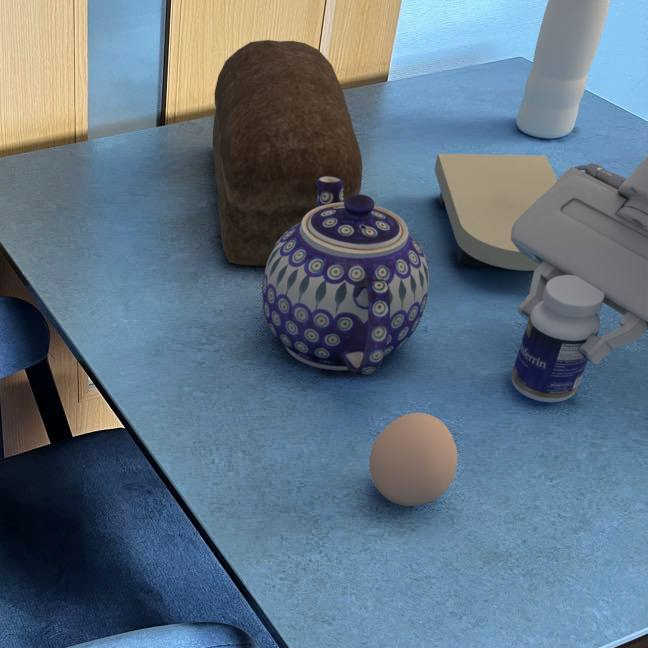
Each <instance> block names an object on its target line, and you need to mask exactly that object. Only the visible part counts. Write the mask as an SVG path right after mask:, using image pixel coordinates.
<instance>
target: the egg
mask: <svg viewBox="0 0 648 648" xmlns="http://www.w3.org/2000/svg"><path fill="white" fill-rule="evenodd" d="M371 447H372V448H371V451H370V454H369V474H370V477H371V480H372V482H373V485H374V486H375V488H376V489H377V490H378V492H379V493H380V494H381V495H382V496H383V497H385V499H387V500H388V501H390V502H392V503H394V504H397V505H400V506H403V507H418V506H423V505H427V504H429V503H431V502H433V501H435V500H437V499H438V498H439V497H440V496H442V495H443V494H444V493H445V492H446V491H447V490H448V489H449V488H450V486H451V485H452V483H453V480H454V479H455V476H456V472H457V468H458V466H457V465H458V461H459V460H458V448H457V445H456V441H455V439H454V436H453V435H452V433H451V431H450V430H449V428H448V426H447V425H446V424H445V423H444V422H443V421H442V420H440V419H439V418H437V417H436V416H434V415H432V414H429V413H424V412H410V413H405V414H404V415H401V416H399V417H397V418H396V419H394V420H393V421H391V422H390V423H388V424H387V425H386V427H384V429H383V430H382V431H380V433H379V434H378V435H377V437H376V439H375V441H374V442H373V445H372V446H371Z"/></svg>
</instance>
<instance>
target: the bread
mask: <svg viewBox="0 0 648 648" xmlns="http://www.w3.org/2000/svg"><path fill="white" fill-rule="evenodd" d="M213 94H214V105H215V111H214V117H213V126H212V127H213V128H212V144H211V145H212V155H213V161H214V178H215V183H216V190H217V191H216V192H217V210H218V218H219V219H218V220H219V225H220V227H219V228H220V236H221V237H220V238H221V244H222V248H223V251H224V253H225V256H226V259H227V260H228V262H229V263H230V264H235V265H242V266H262V267H263V266H264V267H266V265H267V261H268V259H269V256H270V253H271V251H272V250H273V248H274V246H275V244H276V243H277V241H278V240H279V239H280V238H281V237H282V236H283V235H284V234H285V233H286V232H287V231H288V230H289V229H290V228H292V227H293V226H295V225H297V224H299V223H301V222H302V219H303V217H304V216H305V215H306V214H307V213H308V212H310V211H311V210H313V209H315V208H317V197H318V187H317V180H318V179H319V178H321V177H325V176H328V177H335V178H338V179H340V180H342V181H343V202H344V201H345V199H346V198H348V197H349V196H351V195H355V194H360V193H361V189H362V179H363V161H362V160H363V159H362V154H361V151H360V150H361V149H360V146H359V142H358V139H357V135H356V132H355V130H354V127H353V122H352V121H353V120H352V118H351V114H350V111H349V109H348V106H347V102H346V98H345V97H346V96H345V94H344V91H343V88H342V85H341V83H340V82H339V79H338V76H337V74H336V71H335V69H334V67H333V65H332V63H331V62H330V61H329V60H328V59H327V58H326V57H325V56H324V54H323V53H322V52H321V50H319V49H318V48H316V47H314V46H311V45H310V44H307V43H305V42H301V41H297V40H271V39H263V40H255V41H250V42H248V43H247V44H244V45H243V46H241V47H240V48H239V49H237V50H236V51H235V52H234V53H233V54H231V55H230V56H229V57H228V58H227V59H226V60H225V61H224V63H223V65H222V67H221V70H220V72H219V73H218V75H217V80H216V84H215V89H214V93H213Z"/></svg>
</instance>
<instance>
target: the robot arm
mask: <svg viewBox="0 0 648 648" xmlns="http://www.w3.org/2000/svg"><path fill="white" fill-rule="evenodd" d="M557 179H558V181H557V182H556V183H555V184H554V185H553V186H552V187H551V188H550V189H549V190H548V191H547V192H545V193H544V194H543V195H542V196H541V197H540V198H539V199H538V200H537V201H536V202H534V203H533V204H532V205H531V206H530V207H529V208H528V209H527V210H526V211H525V212H524V213H523V214H522V215H521V216H520V218H519V219H518V220H517V221H516V222H515V223H514V225H513V227H512V232H511V240H512V242H513V243H514V245H515V246H516V247H517V249H518V250H519V251H520V252H521V253H522V254H523V255H525V256H526V257H528V258H530V259H531V260H533V261H535V262H536V263H538V264H540V265H539V266H538V267H537V269H536V270H535V271H533V274H532V279H531V283H530V287H529V291H528V293H529V294H528V295H527V296H526V297H525V298H524V300H522V301H521V303H520V304H519V305H518V307H517V308H516V312H517V313H518V314H519V316H520V317H522V318H523V319H525V320H526V321H528V320H529V317H530V314H531V312H532V310H533V308H534V307H535V306H536V305H537V304H538V303H539V302H541V301H543V299H542V296H543V292H544V289H545V287H546V284H547V283H548V281H549V280H551V279H552V278H554V277H557V276H562V275H575V276H578V277H579V278H581V279H582V280H584V281H586V282H587V283H589V284H590V285H592V286H594V287H595V288H597V289H599V290H600V291H602V292H603V293H604V299H603V302H602V304H604V305H606V306H607V307H609V308H610V309H612V310H613V311H615V312H617V313H619V314H620V315H622V317H621V318H620V319H618V324H619V325H620V327H618V328H616V329H613V330H611V331H609V332H607V333H605V334H603V335H600V336H598V335H597V336H596V335H595V334H593V333H591V334H590V335H589V337H588V338H587V339H586V342H585V343H582V344H581V345H580V347H579V349H578V352H579V353H580V354H581V356H583V357H584V358H586V359H587V360H588V362H590V363H592V364H593V365H598V364H600V362H601V361H602V360H603V359H604V358H605V357H606V356H607V355H608V354H609V353H610V352H611V351H613V350H617V349H618V348H621V347H624V346H627V345H629V344H631V343H634V342H636V341H639V339H640V338H641V337H642V336H643V335H644V334H645V333H646V331H648V154H647V155H646V156H645V157H644V158H643V160H642V161H641V162H640V163H639V164H638V166H637V167H636V168H634V169H633V171H632V172H631V173H630V175H629V176H628V177H627V178H625V177H624V176H621V175H619V174H617V173H614V172H611V171H609V170H607V169H605V168H604V166H601V165H599V164H597V163H589V164H581V165H580V164H579V165H577V166H573V167H570V168H567V170H566V171H564V172H563V173H562V175H560V177H559V178H557Z"/></svg>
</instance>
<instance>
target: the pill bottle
mask: <svg viewBox="0 0 648 648" xmlns="http://www.w3.org/2000/svg"><path fill="white" fill-rule="evenodd" d="M542 299H543V301H541V302H539V303H538V304H537V305H536V306H535V307H534V308H533V310H532V312H531V314H530V317H529V320H527V324H526V327H525V329H524V333H523V336H522V339H521V343H520V345H519V349H518V352H517V354H516V359H515V362H514V365H513V368H512V372H511V383H512V385H513V387H514V388H515V389H516V390H517V391H518V392H519V393H521V394H522V395H524V396H525V397H527V398H529V399H532V400H533V401H538V402H543V403H560V402H563V401H565V400H568V399H570V398H571V397H572V396H574V394H575V393H576V392H577V390H578V388H579V385H580V383H581V381H582V378H583V375H584V372H585V369H586V367H587V364H588V362H589V360H587V359H586V358H584V357H583V356H581V354H580V353H579V352H578V349H579V347H580V345H581V344H582V343H585V342H586V339H587V338H588V337H589V335H590V334H591V333H593V334H595V335H596V336H598V334H599V331H600V329H601V318H600V315H599V314H598V312H599V311H601V308H602V304H603V303H602V302H603V299H604V293H603V292H602V291H600V290H599V289H597V288H595V287H594V286H592V285H590V284H589V283H587V282H586V281H584V280H582V279H581V278H579V277H578V276H575V275H562V276H557V277H554V278H552V279H551V280H549V281H548V283H547V284H546V287H545V289H544V292H543V296H542Z"/></svg>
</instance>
